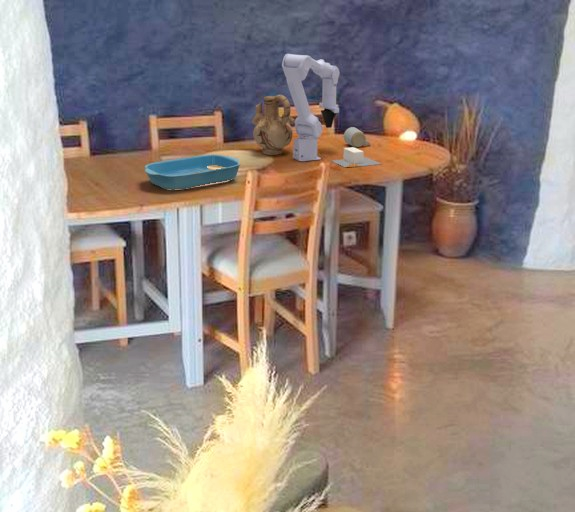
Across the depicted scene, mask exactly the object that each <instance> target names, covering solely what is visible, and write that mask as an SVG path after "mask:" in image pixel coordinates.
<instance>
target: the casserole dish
mask: <svg viewBox="0 0 575 512" xmlns="http://www.w3.org/2000/svg"><path fill="white" fill-rule="evenodd" d="M209 165H218V166H222V167H226V168H221V169H216V170H210V171H209V169H208V168H207V166H209ZM240 166H241V163H240V161H239V159H238V158H236V157H235V156H234V157H233V156H229V155H222V154H202V155H195V156H189V157H183V158H174V159H169V160H167V159H166V160H162V161H155V162H152V163H151V162H150V163H148V164H146V165H145V166H144V168H145V170H144V172H145V174H146V175H147V176H148V179H149V181H150V182H151V183H152V184H153V185H154V184H155V186H156V185H158V186H160V187H162V188H161V189H163V188H164V189H163V190H165V189H171V190H175V189H186V188H191V187H195V186H200V185H205V184H210V183H216V182H222V181H227V180H231V179H233V180H234V179H235V178H236V176H237V175H238V172H239V168H240ZM200 171H205V172H200ZM194 172H199V173H194ZM190 173H193V174H190ZM158 186H157V187H158ZM160 187H159V188H160Z"/></svg>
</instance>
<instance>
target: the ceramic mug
mask: <svg viewBox="0 0 575 512" xmlns="http://www.w3.org/2000/svg"><path fill="white" fill-rule="evenodd" d="M343 139H344V142H345V144H347V145H349V146H351V147H354V148H361V147H363V146H364V145H366V146H370V144H371V142H370V141H369V140H367V139H366V135H365V134H364V132H362V130H360V129H358V128H356V127H353V126H351V127H348V128H347V129H346V130H345V131H344V133H343Z"/></svg>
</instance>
